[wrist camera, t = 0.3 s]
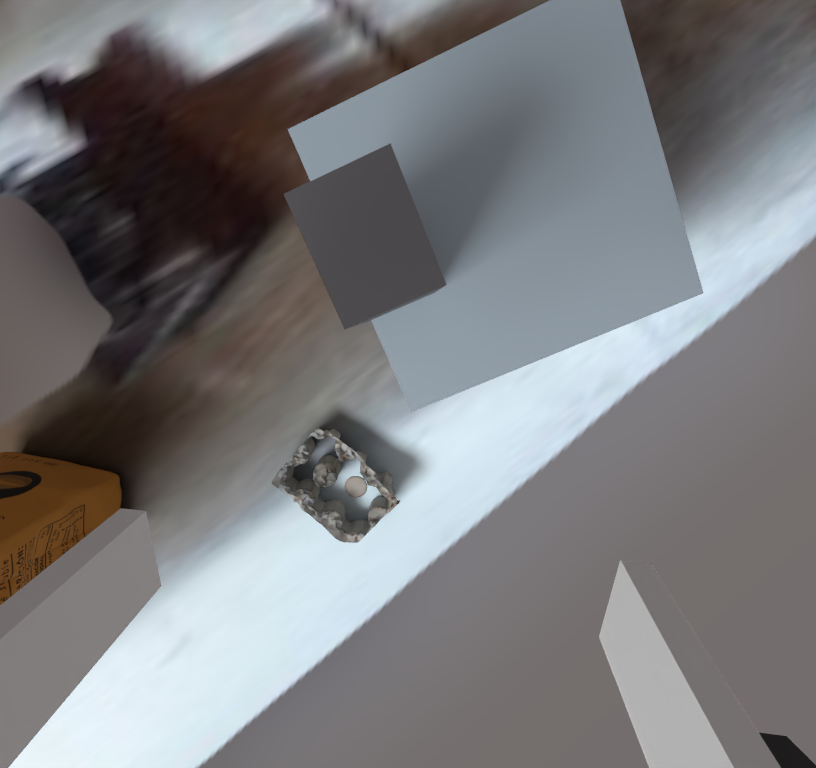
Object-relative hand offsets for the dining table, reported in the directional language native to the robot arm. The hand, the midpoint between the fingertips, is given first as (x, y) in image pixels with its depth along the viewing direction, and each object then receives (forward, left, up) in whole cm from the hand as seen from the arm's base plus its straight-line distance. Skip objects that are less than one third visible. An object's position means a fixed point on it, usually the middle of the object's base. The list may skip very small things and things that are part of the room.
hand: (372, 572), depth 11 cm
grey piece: (+9, -7, -28) cm, 30 cm away
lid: (-11, +8, -14) cm, 20 cm away
